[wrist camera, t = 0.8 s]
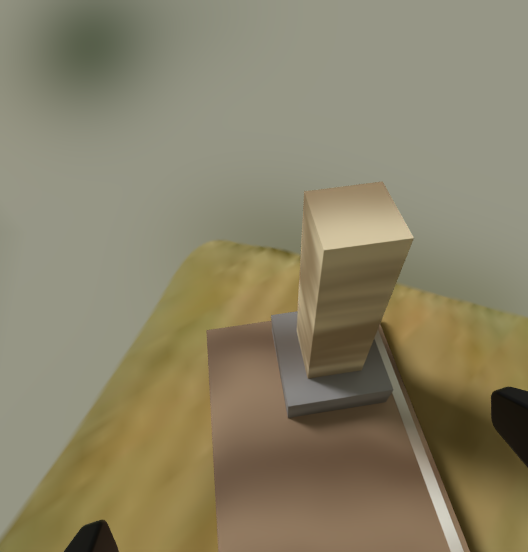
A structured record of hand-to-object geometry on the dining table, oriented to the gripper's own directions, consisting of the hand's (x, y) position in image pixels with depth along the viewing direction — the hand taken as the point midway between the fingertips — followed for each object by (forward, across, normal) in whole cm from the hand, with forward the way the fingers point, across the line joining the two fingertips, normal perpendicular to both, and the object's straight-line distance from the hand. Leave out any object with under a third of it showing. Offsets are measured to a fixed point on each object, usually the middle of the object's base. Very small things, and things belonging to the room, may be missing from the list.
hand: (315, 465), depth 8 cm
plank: (+10, -2, +11) cm, 15 cm away
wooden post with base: (+14, -5, +7) cm, 16 cm away
